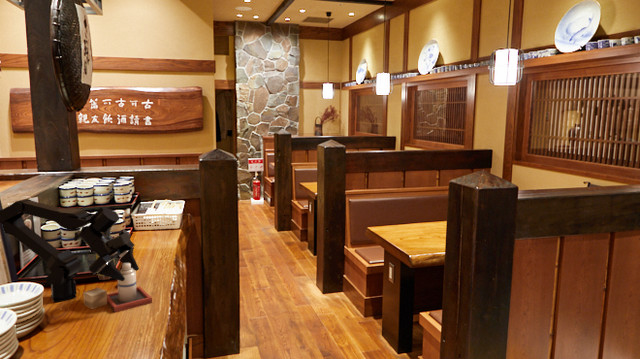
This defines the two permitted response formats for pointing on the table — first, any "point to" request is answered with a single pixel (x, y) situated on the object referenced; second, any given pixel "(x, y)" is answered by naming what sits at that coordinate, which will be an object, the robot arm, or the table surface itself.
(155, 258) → the table surface
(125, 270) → the white sake bottle
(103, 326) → the table surface
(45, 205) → the robot arm
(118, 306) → the lacquer tray
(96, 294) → the wooden masu box
